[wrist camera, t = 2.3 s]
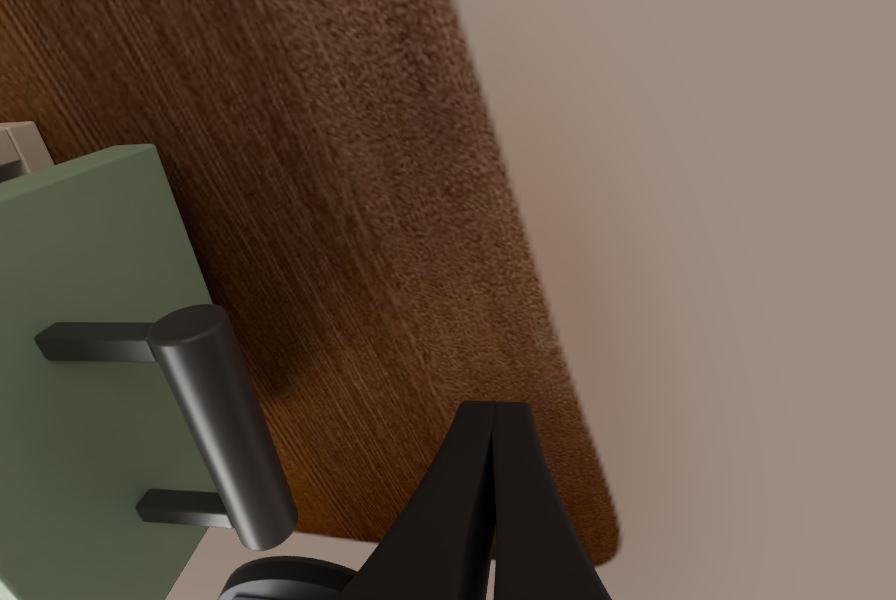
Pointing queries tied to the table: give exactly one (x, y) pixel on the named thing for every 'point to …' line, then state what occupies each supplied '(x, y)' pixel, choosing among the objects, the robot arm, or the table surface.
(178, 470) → the drawer
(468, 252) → the table surface
